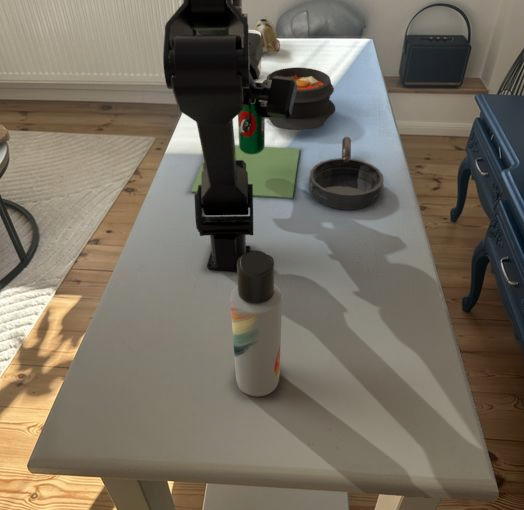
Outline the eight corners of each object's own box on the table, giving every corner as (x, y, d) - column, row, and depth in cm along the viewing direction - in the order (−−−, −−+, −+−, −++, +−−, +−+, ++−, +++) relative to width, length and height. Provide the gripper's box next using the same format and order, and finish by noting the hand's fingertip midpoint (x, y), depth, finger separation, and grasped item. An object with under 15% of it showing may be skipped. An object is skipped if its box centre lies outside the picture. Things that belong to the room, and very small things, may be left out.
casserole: (338, 138, 110) (343, 100, 104) (257, 138, 110) (257, 99, 104) (330, 95, 127) (334, 59, 120) (259, 94, 127) (259, 59, 121)
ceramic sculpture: (282, 10, 147) (279, 29, 137) (282, 42, 153) (279, 62, 144) (247, 10, 147) (242, 28, 138) (248, 42, 154) (244, 61, 145)
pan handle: (350, 167, 98) (351, 159, 96) (341, 167, 98) (342, 158, 97) (350, 143, 105) (351, 135, 103) (341, 143, 105) (342, 135, 104)
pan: (381, 212, 90) (384, 197, 88) (306, 208, 91) (308, 192, 89) (378, 175, 99) (381, 160, 97) (310, 171, 100) (312, 156, 98)
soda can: (267, 153, 95) (267, 88, 86) (242, 157, 94) (240, 91, 85) (260, 142, 98) (260, 78, 89) (236, 145, 97) (233, 81, 88)
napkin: (292, 198, 93) (292, 197, 93) (191, 192, 95) (191, 190, 95) (299, 150, 106) (299, 148, 106) (210, 145, 108) (210, 144, 108)
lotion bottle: (278, 363, 66) (281, 241, 51) (280, 397, 62) (285, 276, 47) (236, 364, 66) (227, 243, 51) (236, 398, 62) (227, 278, 47)
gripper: (297, 23, 74) (310, 77, 90) (187, 13, 79) (217, 66, 94) (280, 96, 75) (296, 137, 90) (172, 82, 79) (205, 123, 95)
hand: (253, 114), depth 92 cm, fingers closed on soda can, 5 cm apart
